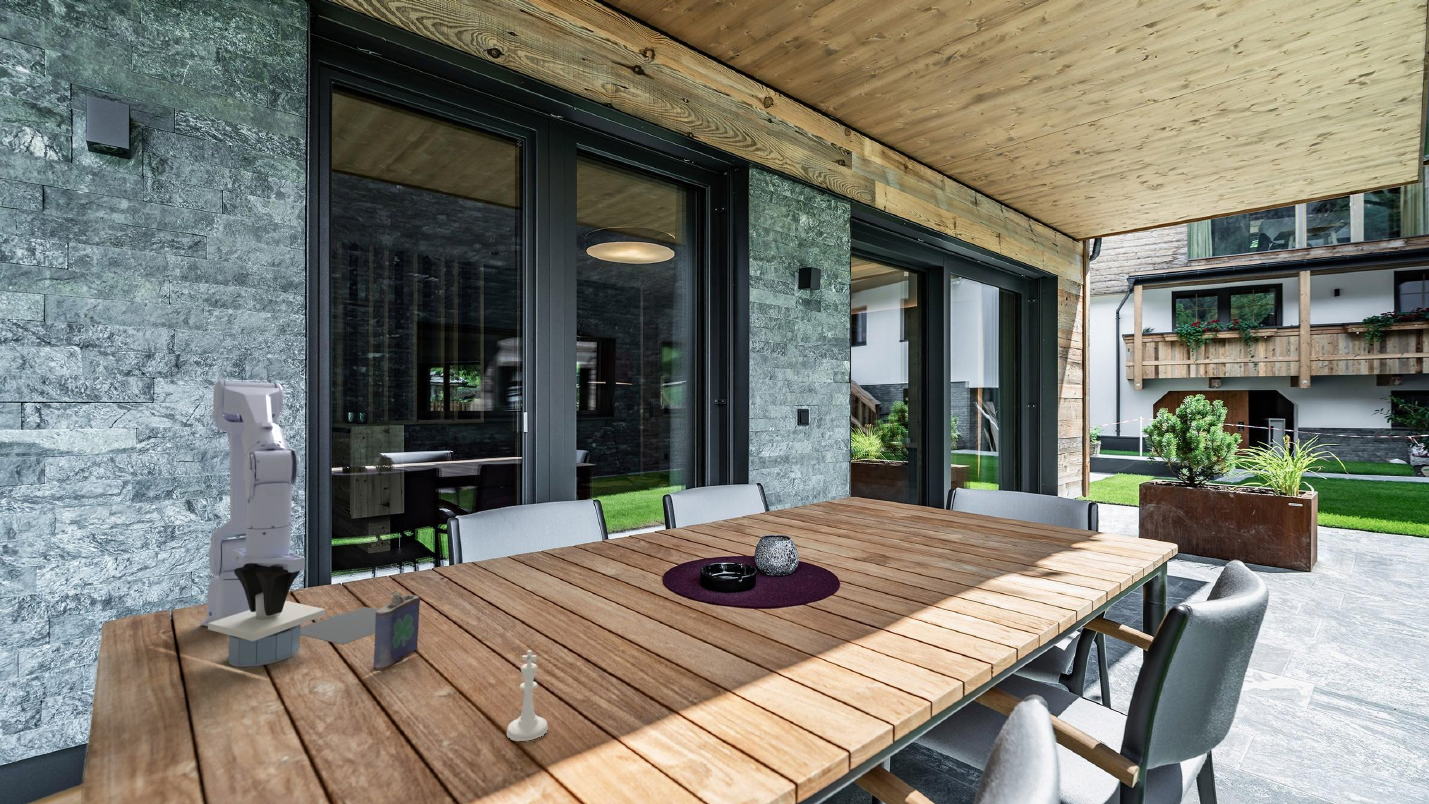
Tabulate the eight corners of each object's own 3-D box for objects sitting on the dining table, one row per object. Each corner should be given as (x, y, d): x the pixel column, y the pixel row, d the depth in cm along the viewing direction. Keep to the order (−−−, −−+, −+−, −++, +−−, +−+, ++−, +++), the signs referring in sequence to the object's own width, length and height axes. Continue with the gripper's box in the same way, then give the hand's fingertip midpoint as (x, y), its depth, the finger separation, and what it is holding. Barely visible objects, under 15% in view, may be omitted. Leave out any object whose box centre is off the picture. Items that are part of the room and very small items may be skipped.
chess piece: (512, 721, 79) (514, 643, 79) (551, 721, 80) (553, 643, 80) (502, 742, 74) (504, 659, 74) (543, 741, 75) (546, 658, 75)
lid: (208, 629, 95) (207, 600, 95) (281, 605, 105) (281, 579, 105) (253, 641, 91) (252, 611, 90) (325, 615, 101) (325, 587, 101)
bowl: (214, 662, 95) (216, 633, 95) (275, 642, 103) (276, 615, 103) (252, 673, 91) (253, 642, 92) (312, 651, 100) (312, 623, 100)
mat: (286, 633, 107) (286, 631, 107) (364, 608, 121) (364, 606, 121) (342, 646, 102) (343, 644, 102) (417, 619, 116) (417, 617, 116)
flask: (384, 672, 93) (386, 600, 93) (366, 670, 93) (368, 599, 93) (422, 649, 102) (423, 584, 102) (405, 648, 102) (407, 583, 103)
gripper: (212, 525, 97) (209, 612, 96) (272, 534, 91) (269, 626, 91) (259, 518, 103) (257, 600, 103) (319, 526, 98) (316, 612, 98)
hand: (266, 611), depth 97 cm, fingers closed on lid, 3 cm apart
